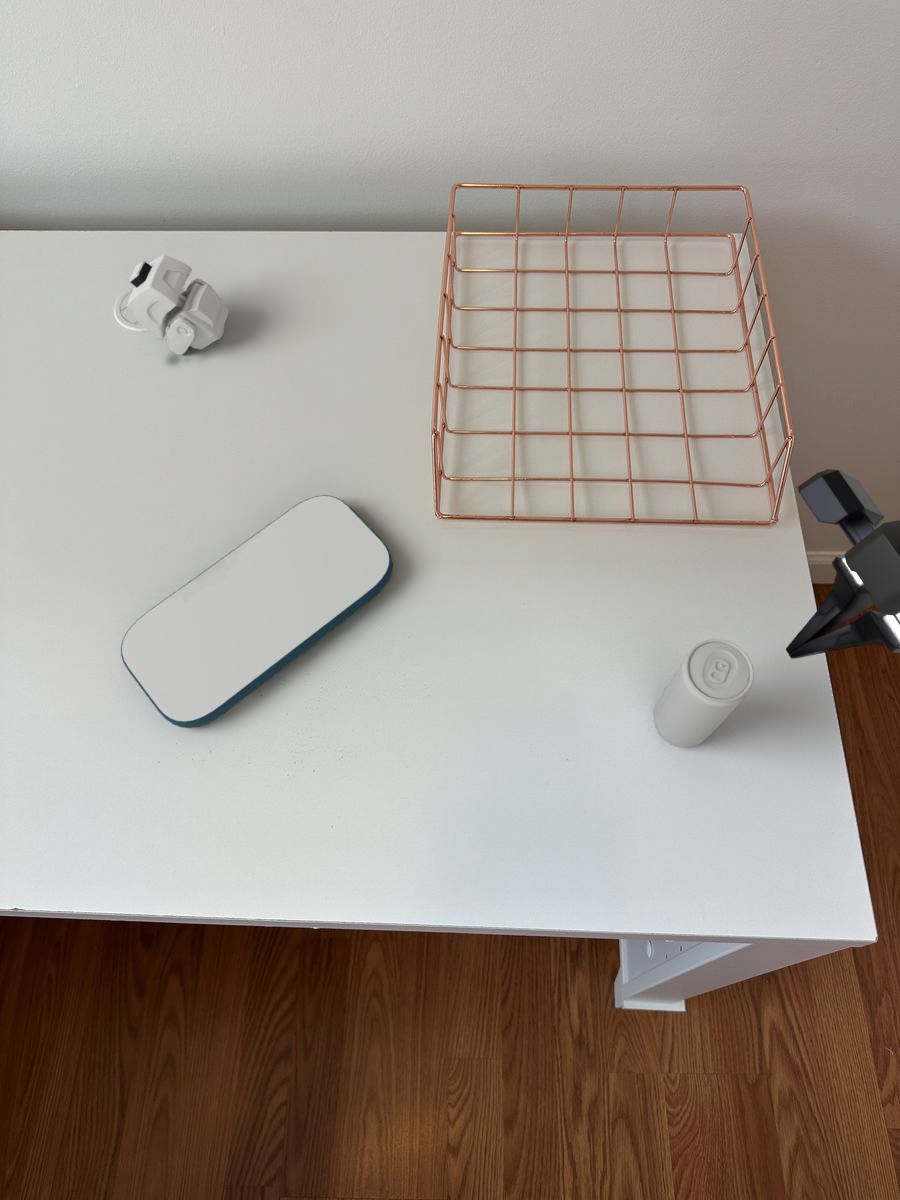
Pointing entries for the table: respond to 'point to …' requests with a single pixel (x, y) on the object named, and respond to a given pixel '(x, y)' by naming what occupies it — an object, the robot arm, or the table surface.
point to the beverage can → (703, 692)
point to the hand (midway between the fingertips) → (790, 654)
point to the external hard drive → (255, 610)
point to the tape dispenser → (176, 305)
